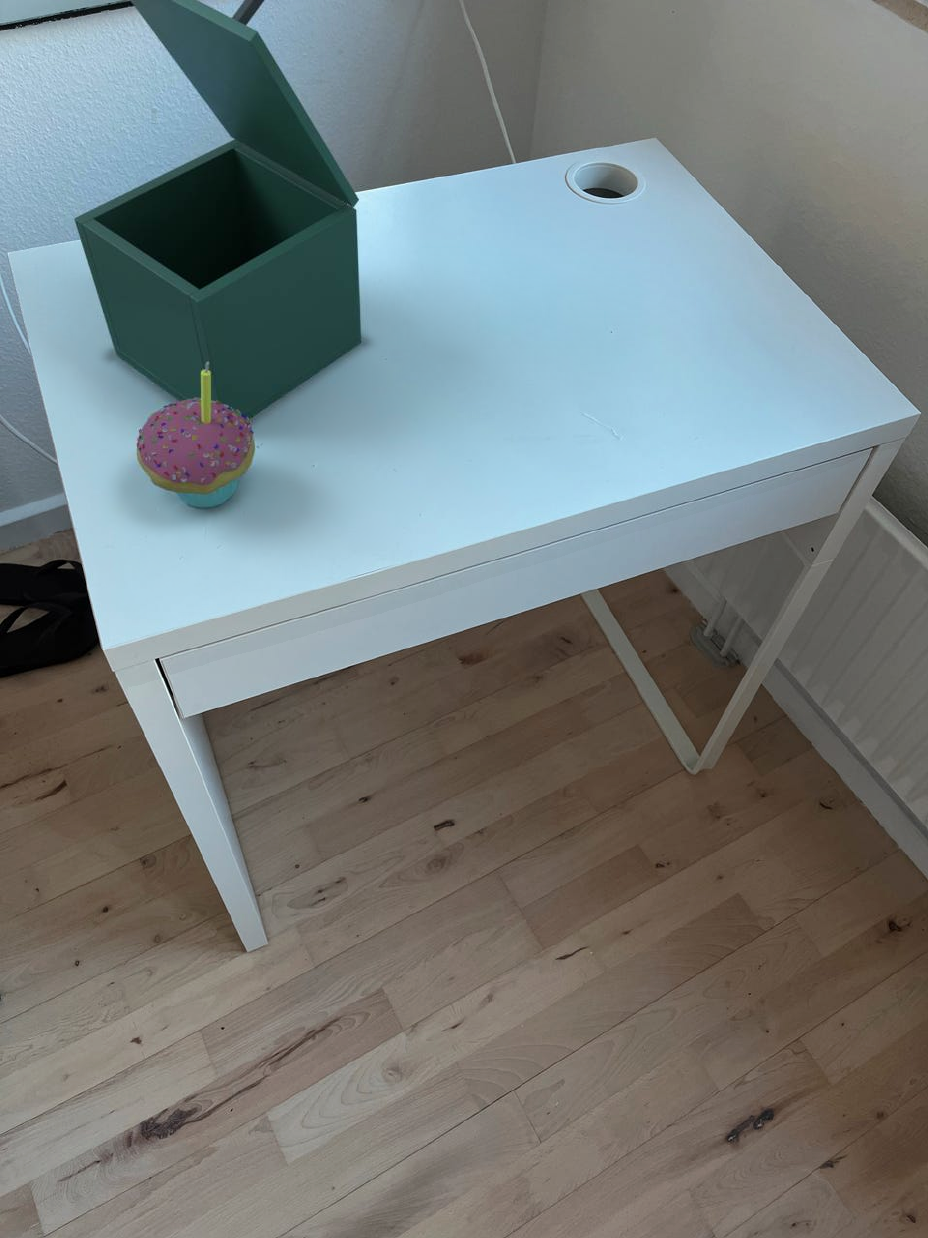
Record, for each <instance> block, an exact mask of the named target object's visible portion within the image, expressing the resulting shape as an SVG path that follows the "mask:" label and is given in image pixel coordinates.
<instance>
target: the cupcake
mask: <svg viewBox="0 0 928 1238" xmlns="http://www.w3.org/2000/svg"><path fill="white" fill-rule="evenodd" d="M208 365H209V362H207V363H206V365H205V370H202V371H201V398H199V399H198V398H194V399H188V400H183V401H179V400H178V401H177V402H174V403H168V405H166V404H165V405H164V406H163V407H162V408H160V409H159V410H157V411H155V412H153V413H151V414H150V415H149V416H148V417H147V420H146V422H145V423H144V425H143V426H142V428H140V429H139V431H138V437H137V438H136V457H137V461H138V463H139V465H140V467H141V468H142V470H143V471H144V472H145V473H146V475H147V476H148V477H149V479H150V481H151V482H152V483H153V484H154V485H155V486H157V487H159V488H160V489H163V490H164V491H165V490H166V491H169V492H173V493H175V495H176V496H177V497H178V498H179V499H180V500H181V501H182V502H183V503H185V504H187V505H188V506H191V507H195V508H206V509H207V508H212V507H213V508H214V507H216V506H219V505H221V504H224V503H226V502H227V501H228V500H229V499H231V498H232V497H233V496H234V494H235V493H236V491H237V488H238V485H239V480H240V477H241V476H242V475H244V474H245V473H246V472H247V471H248V470H249V468H251V466H252V463H253V460H254V455H255V452H256V444H255V437H254V431H253V430H252V424H251V423H250V419H249V418H248V417H246V419H245V415H244V414H241V413H240V412H239V410H235V409H232V407H231V408H230V407H229V405H224V404H221V403H220V402H219V401H211V372H210V371H209V370H208ZM242 415H243V416H242ZM247 418H248V419H247Z"/></svg>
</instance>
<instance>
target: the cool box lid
mask: <svg viewBox="0 0 928 1238" xmlns="http://www.w3.org/2000/svg"><path fill="white" fill-rule="evenodd" d="M129 1H130V2H131V3H132V5H133V6H134V8H135V9H136V10H137V12H138V13H139V14H140V16H141V17H142V19H143V20H144V21H145V22H146V24H147V25H148V27H149V28H150V30H151V31H152V33H154V34H155V36H156V38H157V39H158V40H159V42H160V43H161V44H162V46H163V47H164V49H165V50H166V51H167V53H169V55H170V56H171V58H172V59H173V61H174V62H175V63H176V64H177V66H178V67H179V69H180V70H181V71H182V73H183V74H184V76H185V77H186V78H187V80H189V82H190V83H191V85H192V86H193V88H194V89H195V90H196V91H197V93H198V94H199V96H200V97H201V98H202V100H203V101H204V102H205V104H206V105H207V106H208V108H209V109H210V111H211V112H212V114H213V115H214V116H215V117H216V118H217V121H218V122H219V123H220V124H221V125H222V127H223V128H224V129H225V131H226V132H227V134H229V136H230V137H231V138H232V139H233V140H234V139H235V140H237V141H239V142H241V143H242V144H244V145H246V146H247V147H249V148H251V149H253V150H254V151H256V152H258V153H260V154H261V155H263V156H265V157H266V158H268V159H270V160H272V161H273V162H275V163H277V164H279V165H280V166H282V167H284V168H286V169H287V170H289V171H291V172H292V173H294V174H296V175H298V176H299V177H301V178H303V179H305V180H306V181H308V182H310V183H311V184H313V185H315V186H317V187H318V188H320V189H322V190H324V191H325V192H327V193H329V194H331V195H332V196H334V197H336V198H337V199H339V200H341V201H343V202H344V203H346V204H347V205H349V206H351V207H353V208H355V206H356V205H357V203H358V202H359V201H360V199H359V197H358V195H357V193H356V192H355V190H354V189H353V187H352V185H351V184H350V182H349V180H348V179H347V177H346V175H345V173H344V172H343V171H342V169H341V167H340V164H338V162H337V160H336V159H335V157H334V155H333V153H332V152H331V150H330V149H329V147H328V146H327V144H326V142H325V141H324V139H323V137H322V136H321V134H320V132H319V131H318V129H317V127H316V125H315V124H314V122H313V120H312V118H311V117H310V116H309V114H308V113H307V111H306V109H305V107H304V106H303V104H302V102H301V101H300V99H299V98H298V96H297V94H296V92H295V91H294V89H293V88H292V86H291V84H290V83H289V81H288V80H287V78H286V75H285V74H284V73H283V71H282V69H281V68H280V66H279V64H278V63H277V61H276V60H275V58H274V56H273V55H272V53H271V51H270V49H269V48H268V46H267V45H266V43H265V41H264V39H263V38H262V36H261V35H260V33H259V32H258V30H256V29H254V28H252V27H250V26H249V25H248V24H249V23H250V21H251V20H252V19H253V17H254V16H255V15H256V13H257V11H258V10H259V9H260V7H261V6H262V5H263V3H264V2H265V0H243V1H242V2H241V4H240V6H238V8H237V10H236V11H235V13H234V14H233V15H232V16H229V15H227V14H224V13H223V12H221V11H219V10H217V9H215V8H213V7H211V6H210V5H208V4H206V3H203V2H202V1H199V0H129Z"/></svg>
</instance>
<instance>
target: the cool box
mask: <svg viewBox="0 0 928 1238" xmlns="http://www.w3.org/2000/svg"><path fill="white" fill-rule="evenodd" d="M73 219H74V224H75V226H76V229H77V232H78V236H79V239H80V243H81V246H82V249H83V251H84V255H85V258H86V262H87V265H88V268H89V271H90V275H91V277H92V281H93V284H94V287H95V290H96V294H97V297H98V301H99V304H100V307H101V310H102V313H103V316H104V320H105V323H106V326H107V329H108V333H109V336H110V339H111V342H112V345H113V348H114V351H115V355H116V356H117V357H119V358H120V359H121V360H123V361H124V362H125V363H127V364H128V365H129V366H131V367H132V368H134V369H135V370H136V371H138V372H139V373H140V374H142V375H143V376H145V377H146V378H147V379H149V380H150V381H152V382H153V383H154V384H156V385H157V386H158V387H160V388H161V389H163V390H164V391H165V392H166V393H168V394H169V395H170V396H172V397H173V398H175V399H176V400H177V401H178V402H179V401H183V400H188V399H194V398H198V399H199V398H201V371H202V370H205V365H206V363H207V362H209V365H208V370H209V371H210V372H211V401H219V402H220V403H221V404H224V405H229V407H230V408H231V407H232V409H235V410H239V412H240V413H241V414H244V415H245V419H246V417H248V418H249V420H250V419H252V418H253V417H254V416H256V415H257V414H259V413H260V412H261V411H263V410H265V409H266V408H268V407H269V406H270V405H272V404H273V403H275V402H276V401H278V400H279V399H281V398H282V397H283V396H285V395H287V394H288V393H289V392H291V391H292V390H294V389H296V388H297V387H299V386H300V385H301V384H303V383H304V382H306V381H307V380H309V379H311V378H312V377H313V376H315V375H316V374H317V373H319V372H320V371H322V370H323V369H325V368H327V367H328V366H329V365H330V364H332V363H334V362H335V361H336V360H338V359H340V358H341V357H343V356H344V355H346V354H347V353H348V352H350V351H351V350H353V349H354V348H355V347H357V346H359V345H360V344H362V326H361V325H362V324H361V323H362V322H361V298H360V297H361V296H360V295H361V293H360V270H359V268H360V267H359V266H360V265H359V244H358V243H359V240H358V215H357V209H356V208H355V207H351V206H350V205H348V204H346V203H344V202H343V201H341V200H339V199H337V198H336V197H334V196H332V195H331V194H329V193H327V192H325V191H324V190H322V189H320V188H318V187H317V186H315V185H313V184H312V183H310V182H308V181H306V180H305V179H303V178H301V177H299V176H298V175H296V174H294V173H292V172H291V171H289V170H287V169H286V168H284V167H282V166H280V165H279V164H277V163H275V162H273V161H272V160H270V159H268V158H266V157H265V156H263V155H261V154H260V153H258V152H256V151H254V150H253V149H251V148H249V147H247V146H246V145H244V144H242V143H241V142H239V141H237V140H235V139H234V138H233V139H232V140H230V141H228V142H227V143H223V144H221V145H220V146H218V147H216V148H214V149H212V150H209V151H207V152H206V153H204V154H202V155H199V156H198V157H196V158H193V159H191V160H189V161H188V162H185V163H184V164H181V165H180V166H177V167H175V168H173V169H171V170H169V171H167V172H165V173H163V174H161V175H159V176H157V177H155V178H153V179H151V180H149V181H147V182H145V183H143V184H141V185H139V186H137V187H135V188H133V189H131V190H128V191H127V192H125V193H123V194H121V195H118V196H116V197H115V198H113V199H110V200H109V201H108V200H107V202H104V203H102V204H101V205H98V206H96V207H94V208H92V209H90V210H88V211H86V212H84V213H82V214H80V215H78V216H75V217H74V218H73ZM242 416H243V415H242ZM248 418H247V419H248Z"/></svg>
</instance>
